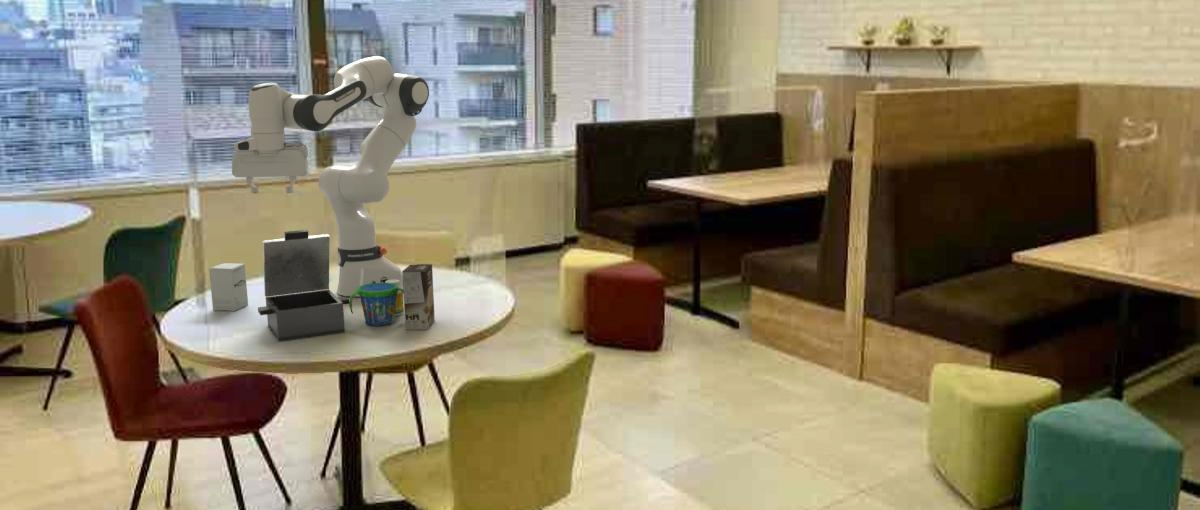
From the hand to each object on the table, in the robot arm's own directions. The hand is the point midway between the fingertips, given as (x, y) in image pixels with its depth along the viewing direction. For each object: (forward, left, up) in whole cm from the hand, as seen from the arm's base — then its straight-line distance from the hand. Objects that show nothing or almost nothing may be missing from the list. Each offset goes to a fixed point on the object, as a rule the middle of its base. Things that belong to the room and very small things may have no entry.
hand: (272, 192), depth 272 cm
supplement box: (+12, -14, -35) cm, 40 cm away
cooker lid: (-3, +15, -18) cm, 23 cm away
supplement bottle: (-28, +17, -35) cm, 48 cm away
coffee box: (-31, +32, -35) cm, 56 cm away
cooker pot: (-3, +20, -35) cm, 40 cm away
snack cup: (-22, +24, -35) cm, 48 cm away
